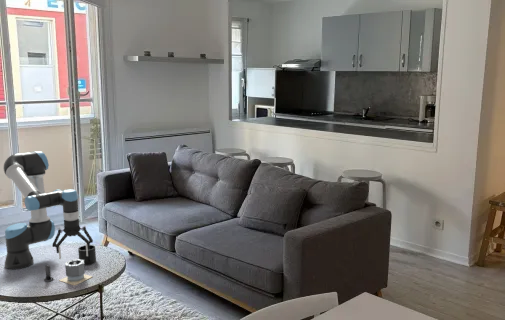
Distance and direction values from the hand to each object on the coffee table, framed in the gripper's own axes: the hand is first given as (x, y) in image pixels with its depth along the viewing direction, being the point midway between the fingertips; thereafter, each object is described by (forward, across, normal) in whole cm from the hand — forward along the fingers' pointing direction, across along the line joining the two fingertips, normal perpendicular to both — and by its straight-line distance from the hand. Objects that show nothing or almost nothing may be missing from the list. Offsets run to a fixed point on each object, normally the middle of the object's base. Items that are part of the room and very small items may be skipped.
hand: (73, 256), depth 259 cm
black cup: (+13, +7, +21) cm, 26 cm away
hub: (+12, 0, -1) cm, 13 cm away
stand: (+13, -14, +3) cm, 19 cm away
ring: (+9, 0, -1) cm, 9 cm away
